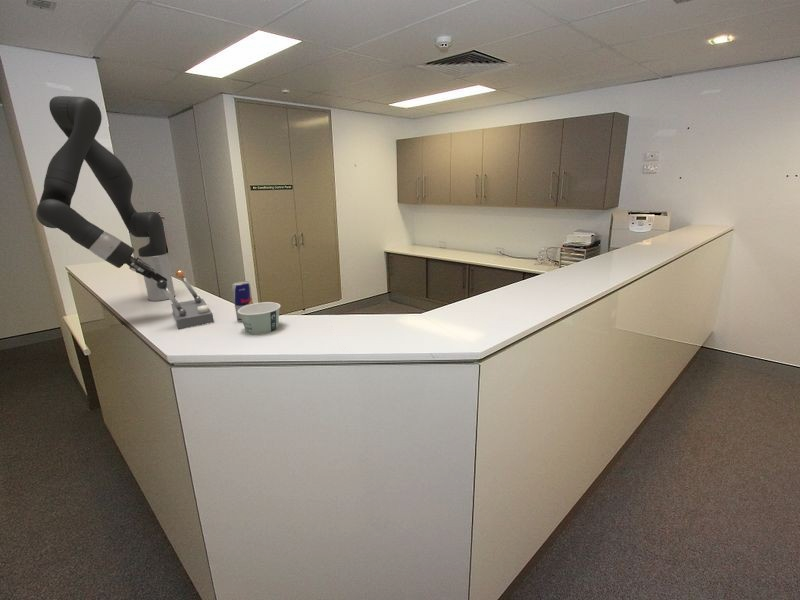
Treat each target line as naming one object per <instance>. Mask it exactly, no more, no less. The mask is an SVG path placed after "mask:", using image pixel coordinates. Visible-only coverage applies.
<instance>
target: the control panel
mask: <svg viewBox="0 0 800 600" xmlns="http://www.w3.org/2000/svg"><path fill="white" fill-rule="evenodd" d="M178 303H179V304H180V306H181V307H182V308H184V309H185V311H186V315H185V316H180V315H179V313H178V310H177V309H176V307H175V306H174V304H173V303H171V308H172V310H171V311H172V314H173V317H174V320H175V322H176V326H177V328H178V330H182V329H185V328H186V327H188V328H191V326H193V327H197V325H198V326H202V324H203V325H206V324H207V323H208V324H211V323H215V322H214V321H215V320H214V315H213V314H214V313H213V312H212V310H211V308H209V311H208V312H205V313H198V308H197V307H198V306H202V305H208V304H207V303H206V301H205V300H204V298H201V302H200V303H197V302H195V300H194V299H191V300H187V301H180V302H179V301H178ZM181 328H182V329H181Z"/></svg>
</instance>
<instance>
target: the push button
mask: <svg viewBox="0 0 800 600" xmlns="http://www.w3.org/2000/svg"><path fill="white" fill-rule="evenodd" d="M197 308H198V313H205V312H208V311H209V309H210V308H209V304H207V305H202V306H198V307H197Z"/></svg>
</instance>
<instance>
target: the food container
mask: <svg viewBox="0 0 800 600" xmlns="http://www.w3.org/2000/svg"><path fill="white" fill-rule="evenodd" d="M280 308H281V304H280V303H277V302H272V301H264V302H263V301H262V302H255V303H254V302H253V304H250V305H246V306H243V307H241V308H240V309H238V313H239V314H240V316H241V319H242V321H243V322H242V324H243V326H244V330H245V332H246V333H247V334H249V335H262V334H268V333H271V332H274V331H276V330H277V329H278V328H279V317H280Z"/></svg>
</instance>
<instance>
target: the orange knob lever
mask: <svg viewBox="0 0 800 600" xmlns="http://www.w3.org/2000/svg"><path fill="white" fill-rule="evenodd" d="M185 275H186V273H185V271H184V270H182V269H178V270H176V271H175V277H176V278H178V279H180V280H181V281H182V283H183V285H185V287H186V289H187V290H188V292H189V293H190V294H191V295H192V297H193V300H195V302H197V303H200V302H201V299H202V298H201V297H200V296H199V295H198V294H197V292H196V291H195V289H194V288H193V287H192V285H191V283H190V282H189V281H188V279H187V277H186V276H185Z"/></svg>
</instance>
